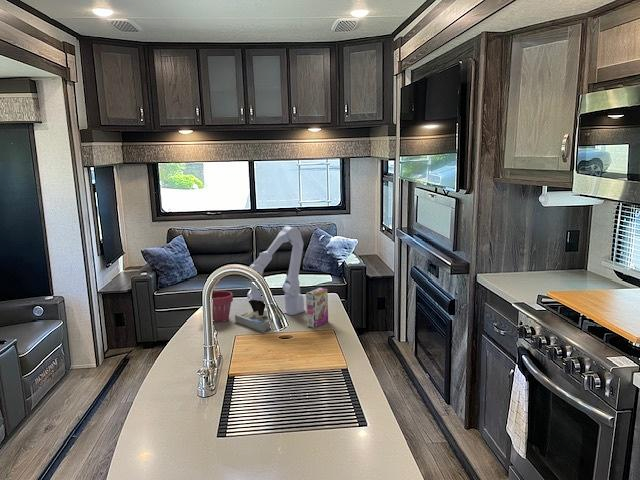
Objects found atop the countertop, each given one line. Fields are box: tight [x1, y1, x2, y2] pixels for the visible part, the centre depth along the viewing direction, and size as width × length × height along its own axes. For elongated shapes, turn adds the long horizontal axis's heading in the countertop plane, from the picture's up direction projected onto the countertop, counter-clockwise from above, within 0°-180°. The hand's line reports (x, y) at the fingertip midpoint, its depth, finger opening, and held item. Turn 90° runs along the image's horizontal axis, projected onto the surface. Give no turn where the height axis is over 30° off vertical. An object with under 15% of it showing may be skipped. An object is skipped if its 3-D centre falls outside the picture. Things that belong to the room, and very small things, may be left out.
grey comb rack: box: [234, 312, 271, 333], centre depth 226 cm, size 6×22×4 cm, turn 44°
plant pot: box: [212, 290, 234, 323], centre depth 236 cm, size 14×14×13 cm
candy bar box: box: [305, 287, 329, 329], centre depth 222 cm, size 11×5×16 cm, turn 144°
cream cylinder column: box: [244, 308, 268, 319], centre depth 234 cm, size 13×4×4 cm, turn 134°
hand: (258, 314), depth 235 cm, fingers closed on cream cylinder column, 4 cm apart
